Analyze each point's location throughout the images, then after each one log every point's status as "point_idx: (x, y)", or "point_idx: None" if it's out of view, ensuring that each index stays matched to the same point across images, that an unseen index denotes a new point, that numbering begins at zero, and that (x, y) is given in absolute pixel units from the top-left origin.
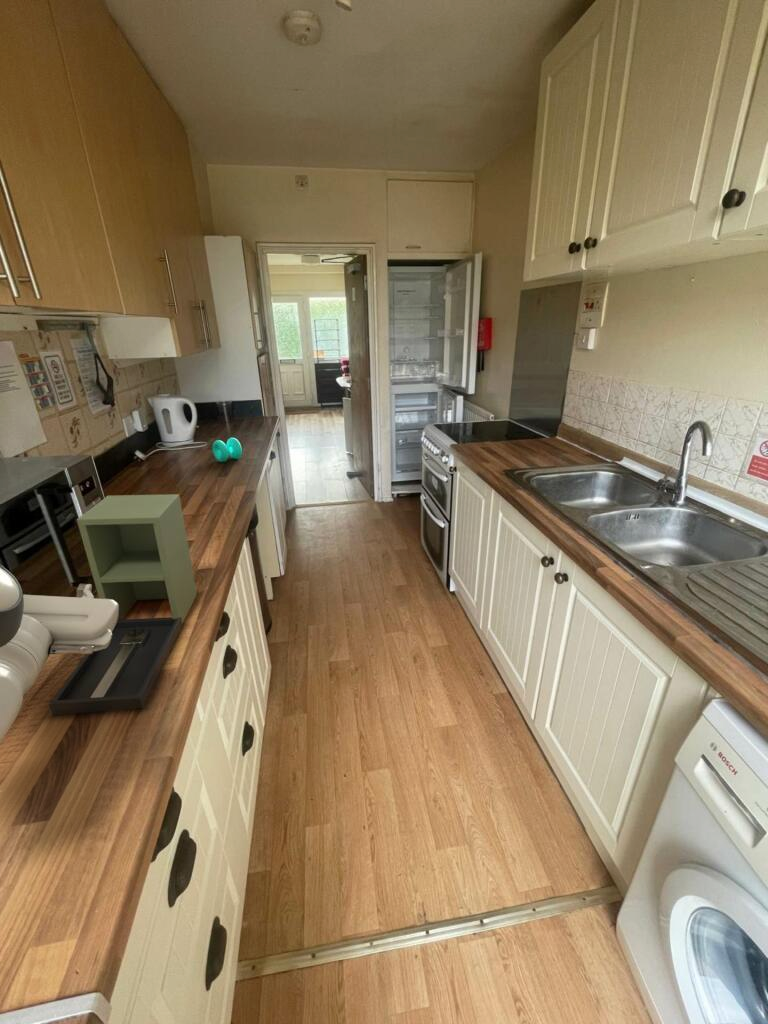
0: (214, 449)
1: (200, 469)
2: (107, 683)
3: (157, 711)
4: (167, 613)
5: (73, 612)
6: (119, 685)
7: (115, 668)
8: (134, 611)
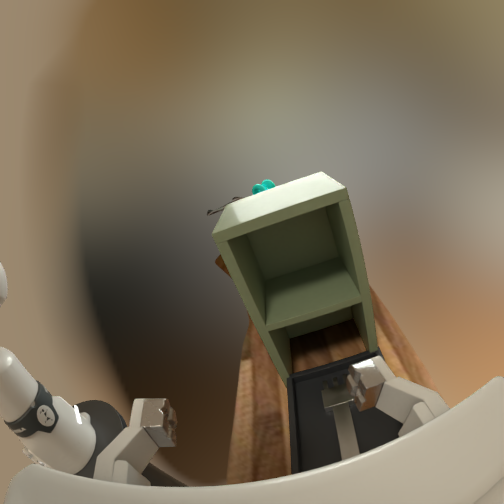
0: (254, 193)
1: None
2: None
3: None
4: (343, 346)
5: (484, 484)
6: None
7: (350, 447)
8: (298, 353)
